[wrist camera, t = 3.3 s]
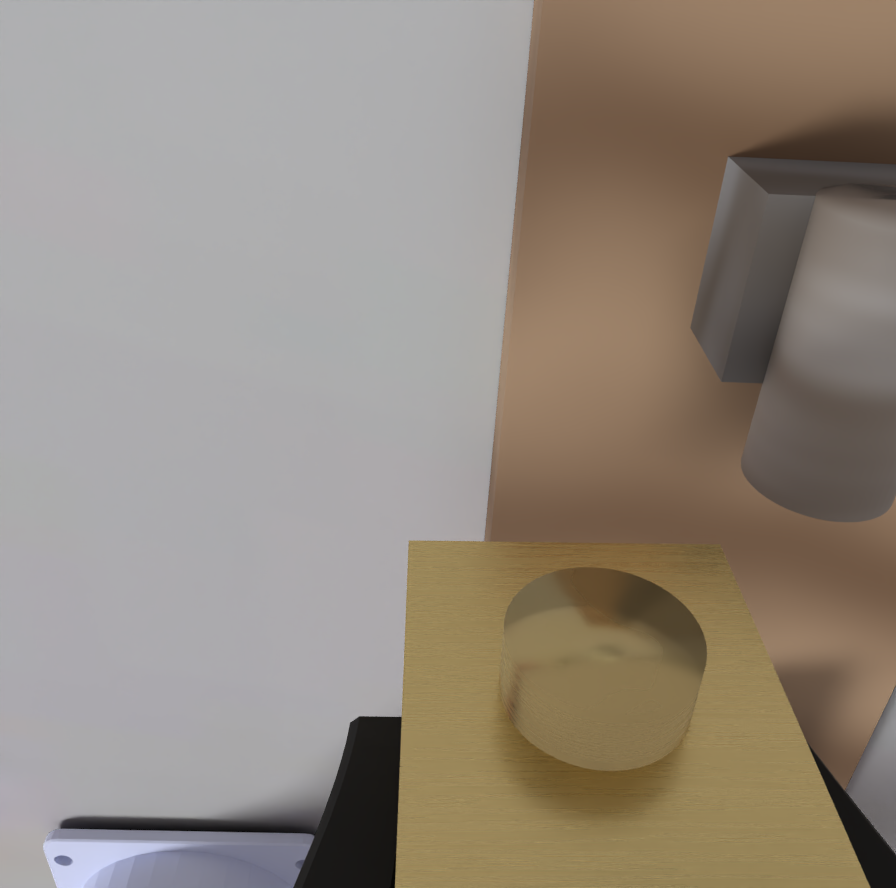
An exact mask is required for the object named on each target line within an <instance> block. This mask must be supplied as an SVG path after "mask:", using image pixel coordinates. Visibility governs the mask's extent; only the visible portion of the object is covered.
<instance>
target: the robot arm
mask: <svg viewBox="0 0 896 888" xmlns="http://www.w3.org/2000/svg"><path fill="white" fill-rule="evenodd" d="M401 725H402V717H363V716H360V717H358V718H357V719H355V720H354V721H352V722H351V723H350V727H349V732H348V736H347V741H346V745H345V749H344V752H343V756H342V760H341V763H340V767H339V770H338V773H337V776H336V779H335V782H334V785H333V788H332V791H331V794H330V797H329V800H328V802H327V805H326V808H325V811H324V813H323V816H322V819H321V822H320V824H319V827H318V829H317V832H316V834H315V836H314V835H311V834H306V833H261V832H210V831H158V830H106V829H56V830H53V831H51V832H49V834H48V835H47V837H46V839H45V842H44V844H43V849H44V852H45V855H46V858H47V861H48V863H49V866H50V869H51V872H52V875H53V877H54V880H55V883H56V886H57V888H395V875H396V850H397V825H398V800H399V775H400V750H401ZM806 742H807V741H806ZM807 744H808V742H807ZM808 746H809V749H810V751H811V753H812V755H813V758H814V760H815V762H816V765H817V767H818V769H819V771H820V774H821V776H822V778H823V781H824V783H825V785H826V787H827V790H828V792H829V794H830V797H831V799H832V801H833V803H834V806H835V808H836V810H837V813H838V815H839V817H840V819H841V822H842V824H843V826H844V829H845V831H846V833H847V835H848V838H849V840H850V842H851V845H852V847H853V849H854V851H855V854H856V856H857V858H858V861H859V863H860V865H861V867H862V870H863V872H864V874H865V877H866V879H867V881H868V883H869V886H870V888H896V854H895V853H894V852H893V850H892V849H891V848H890V847H889V845H888V844H887V843H886V842H885V840H884V839H883V838H882V837H881V836H880V834H879V833H878V832H877V831H876V829H875V828H874V827H873V826H872V824H871V823H870V822H869V821H868V819H867V818H866V817H865V815H864V814H863V813H862V812H861V810H860V809H859V808H858V807H857V805H856V804H855V803H854V802H853V800H852V799H851V798H850V797H849V795H848V794H847V793H846V791H845V790H844V789H843V788H842V786H841V785H840V784H839V783H838V781H837V780H836V779H835V777H834V776H833V775H832V773H831V772H830V771H829V770H828V768H827V767H826V766H825V764H824V763H823V762H822V761H821V759H820V758H819V757H818V755H817V754H816V753H815V752H814V750H813V749H812V748H811V746H810V745H809V744H808Z"/></svg>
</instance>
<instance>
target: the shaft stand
mask: <svg viewBox="0 0 896 888" xmlns="http://www.w3.org/2000/svg"><path fill="white" fill-rule="evenodd" d="M484 542H562V543H644V544H720V545H721V548H722V550H723V552H724V554H725V557H726V559H727V561H728V564H729V566H730V568H731V570H732V573H733V575H734V577H735V580H736V582H737V584H738V586H739V589H740V591H741V593H742V596H743V598H744V600H745V602H746V605H747V607H748V609H749V612H750V614H751V616H752V618H753V621H754V623H755V625H756V628H757V630H758V632H759V634H760V637H761V639H762V641H763V643H764V646H765V648H766V650H767V653H768V655H769V657H770V659H771V662H772V664H773V666H774V669H775V671H776V673H777V675H778V678H779V680H780V682H781V685H782V687H783V689H784V691H785V694H786V696H787V698H788V701H789V703H790V705H791V707H792V710H793V712H794V714H795V717H796V719H797V721H798V723H799V726H800V728H801V730H802V733H803V735H804V737H805V739H806V741H807V742H808V744H809V745H810V746H811V748H812V749H813V750H814V752H815V753H816V754H817V755H818V757H819V758H820V759H821V761H822V762H823V763H824V764H825V766H826V767H827V768H828V770H829V771H830V772H831V773H832V775H833V776H834V777H835V779H836V780H837V781H838V783H839V784H840V785H841V786H842V788H843V789H844V790H845V789H846V787H847V785H848V783H849V781H850V779H851V777H852V775H853V773H854V770H855V768H856V766H857V764H858V762H859V760H860V758H861V756H862V754H863V752H864V750H865V748H866V746H867V744H868V742H869V739H870V737H871V735H872V733H873V731H874V729H875V727H876V725H877V723H878V721H879V719H880V717H881V715H882V713H883V710H884V708H885V706H886V704H887V702H888V700H889V698H890V696H891V694H892V692H893V690H894V688H895V686H896V0H534V8H533V19H532V30H531V41H530V51H529V62H528V73H527V84H526V95H525V106H524V117H523V127H522V138H521V149H520V160H519V171H518V182H517V193H516V203H515V214H514V225H513V236H512V247H511V258H510V269H509V280H508V290H507V301H506V312H505V323H504V334H503V345H502V356H501V366H500V377H499V388H498V399H497V410H496V421H495V432H494V442H493V453H492V464H491V475H490V486H489V497H488V508H487V518H486V529H485V540H484Z"/></svg>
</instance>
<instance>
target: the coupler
mask: <svg viewBox="0 0 896 888" xmlns="http://www.w3.org/2000/svg"><path fill="white" fill-rule="evenodd" d="M395 888H870V886H869V883H868V881H867V879H866V877H865V874H864V872H863V870H862V867H861V865H860V863H859V861H858V858H857V856H856V854H855V851H854V849H853V847H852V845H851V842H850V840H849V838H848V835H847V833H846V831H845V829H844V826H843V824H842V822H841V819H840V817H839V815H838V813H837V810H836V808H835V806H834V803H833V801H832V799H831V797H830V794H829V792H828V790H827V787H826V785H825V783H824V781H823V778H822V776H821V774H820V771H819V769H818V767H817V765H816V762H815V760H814V758H813V755H812V753H811V751H810V749H809V746H808V744H807V742H806V739H805V737H804V735H803V733H802V730H801V728H800V726H799V723H798V721H797V719H796V717H795V714H794V712H793V710H792V707H791V705H790V703H789V701H788V698H787V696H786V694H785V691H784V689H783V687H782V685H781V682H780V680H779V678H778V675H777V673H776V671H775V669H774V666H773V664H772V662H771V659H770V657H769V655H768V653H767V650H766V648H765V646H764V643H763V641H762V639H761V637H760V634H759V632H758V630H757V628H756V625H755V623H754V621H753V618H752V616H751V614H750V612H749V609H748V607H747V605H746V602H745V600H744V598H743V596H742V593H741V591H740V589H739V586H738V584H737V582H736V580H735V577H734V575H733V573H732V570H731V568H730V566H729V564H728V561H727V559H726V557H725V554H724V552H723V550H722V548H721V545H720V544H644V543H562V542H480V541H409V550H408V575H407V600H406V625H405V650H404V675H403V700H402V725H401V750H400V775H399V800H398V825H397V850H396V875H395Z"/></svg>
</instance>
